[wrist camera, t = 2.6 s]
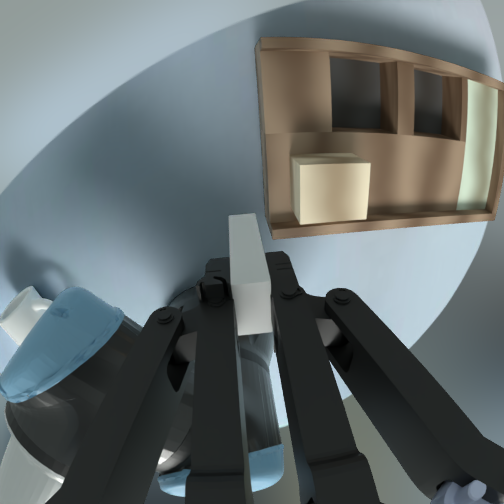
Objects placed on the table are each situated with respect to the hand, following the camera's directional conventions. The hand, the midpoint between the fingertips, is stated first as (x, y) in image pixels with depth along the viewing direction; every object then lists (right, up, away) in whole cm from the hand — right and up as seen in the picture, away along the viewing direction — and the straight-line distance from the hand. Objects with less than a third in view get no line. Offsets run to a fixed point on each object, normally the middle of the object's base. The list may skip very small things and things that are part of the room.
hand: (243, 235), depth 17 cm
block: (+7, +6, +9) cm, 13 cm away
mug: (-29, -9, +19) cm, 36 cm away
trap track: (+16, +12, +11) cm, 23 cm away
